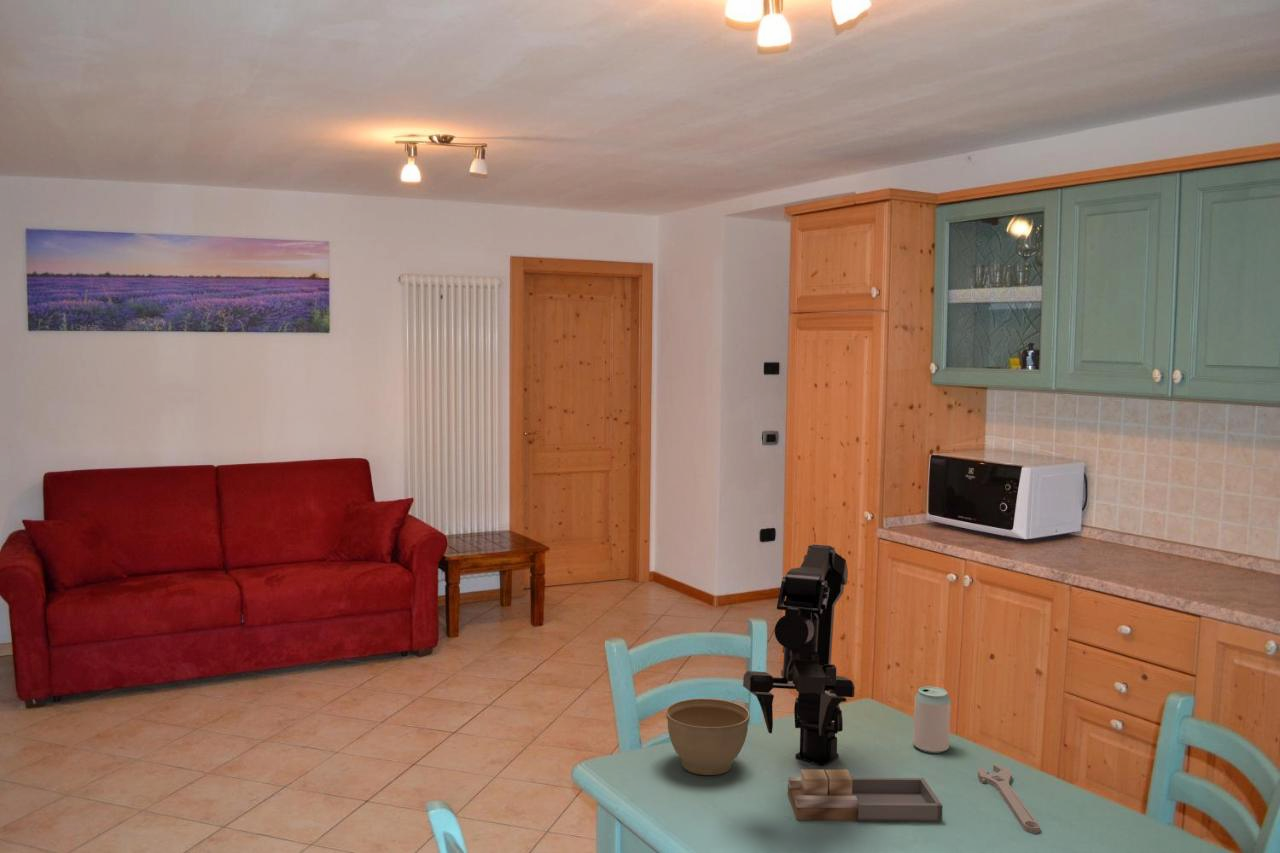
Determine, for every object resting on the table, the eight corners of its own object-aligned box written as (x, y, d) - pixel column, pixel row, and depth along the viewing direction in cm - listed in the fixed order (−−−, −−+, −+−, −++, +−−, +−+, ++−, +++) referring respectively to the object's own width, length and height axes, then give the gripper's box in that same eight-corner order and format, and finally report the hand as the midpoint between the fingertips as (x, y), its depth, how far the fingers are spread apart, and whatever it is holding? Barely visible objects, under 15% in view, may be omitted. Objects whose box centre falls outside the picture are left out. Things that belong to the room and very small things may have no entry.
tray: (858, 821, 172) (858, 805, 171) (844, 793, 183) (844, 777, 182) (941, 822, 172) (942, 805, 172) (922, 793, 183) (923, 778, 183)
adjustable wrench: (1042, 837, 168) (1043, 827, 168) (1003, 834, 169) (1003, 824, 169) (1007, 773, 193) (1007, 765, 193) (973, 771, 194) (973, 763, 194)
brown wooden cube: (804, 801, 175) (805, 779, 175) (800, 791, 179) (801, 769, 179) (827, 801, 175) (828, 779, 175) (822, 791, 179) (823, 769, 179)
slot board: (797, 820, 172) (797, 800, 172) (787, 794, 182) (788, 775, 182) (857, 820, 172) (858, 800, 172) (844, 794, 182) (845, 776, 182)
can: (914, 753, 201) (917, 695, 200) (911, 739, 208) (913, 683, 207) (951, 756, 200) (953, 697, 199) (946, 742, 207) (948, 686, 206)
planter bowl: (765, 766, 194) (766, 711, 193) (712, 792, 183) (714, 734, 182) (701, 743, 205) (702, 691, 204) (648, 766, 193) (649, 711, 193)
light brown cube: (829, 801, 175) (829, 779, 175) (824, 791, 179) (825, 769, 179) (851, 801, 175) (852, 779, 175) (846, 791, 179) (847, 769, 179)
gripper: (760, 646, 167) (755, 742, 165) (867, 653, 169) (863, 747, 167) (745, 638, 178) (739, 728, 176) (845, 644, 180) (841, 733, 178)
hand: (795, 734), depth 174 cm, fingers open, 9 cm apart
